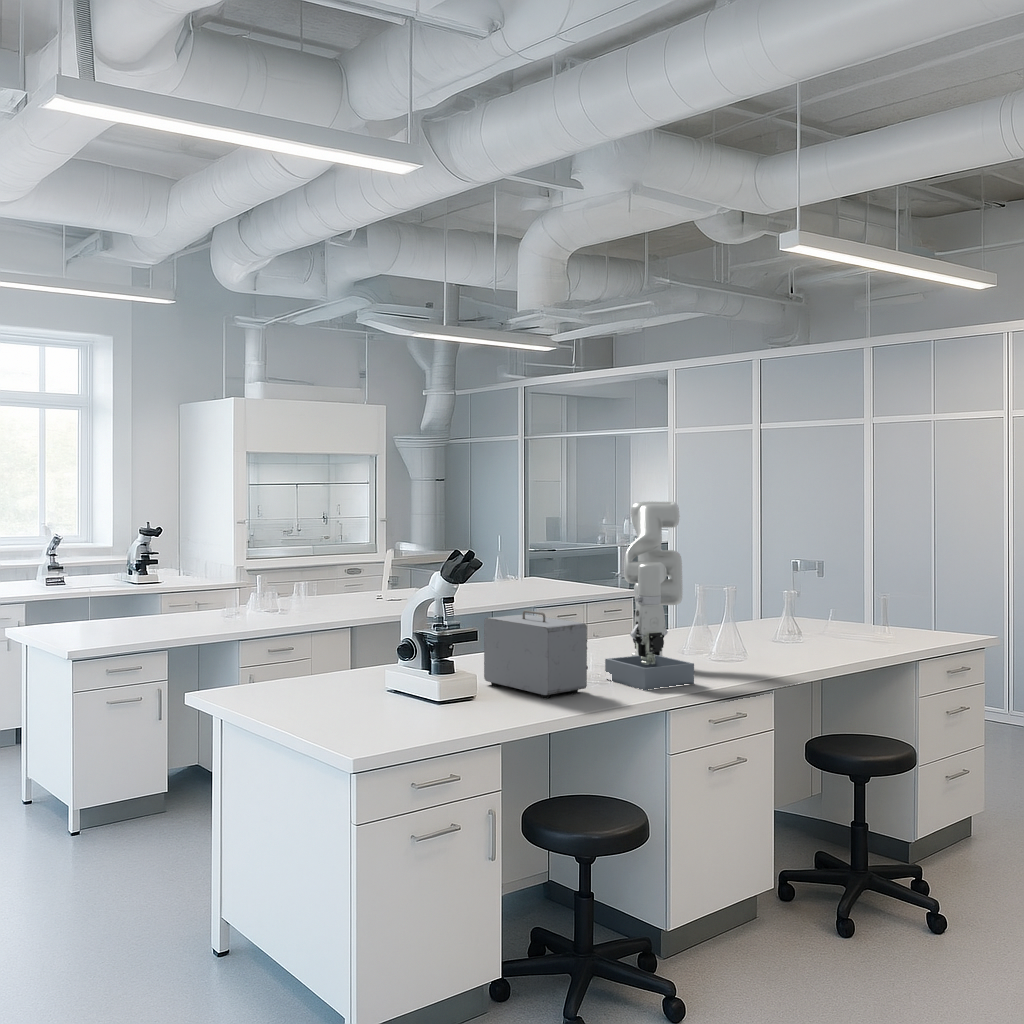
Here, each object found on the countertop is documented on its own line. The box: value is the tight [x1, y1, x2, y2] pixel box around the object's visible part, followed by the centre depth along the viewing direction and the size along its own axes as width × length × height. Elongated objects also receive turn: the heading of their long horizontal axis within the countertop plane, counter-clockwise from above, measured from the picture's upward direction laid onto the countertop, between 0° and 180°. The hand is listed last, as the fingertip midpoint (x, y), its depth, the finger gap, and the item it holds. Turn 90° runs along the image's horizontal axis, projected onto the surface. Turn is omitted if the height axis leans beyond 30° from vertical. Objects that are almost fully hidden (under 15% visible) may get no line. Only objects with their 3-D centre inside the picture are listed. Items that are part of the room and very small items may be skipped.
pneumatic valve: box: [632, 632, 665, 665], centre depth 324 cm, size 6×12×12 cm, turn 27°
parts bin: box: [604, 655, 695, 691], centre depth 325 cm, size 22×20×7 cm
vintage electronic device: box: [483, 609, 589, 699], centre depth 314 cm, size 32×18×25 cm, turn 39°
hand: (649, 655), depth 325 cm, fingers closed on pneumatic valve, 5 cm apart
